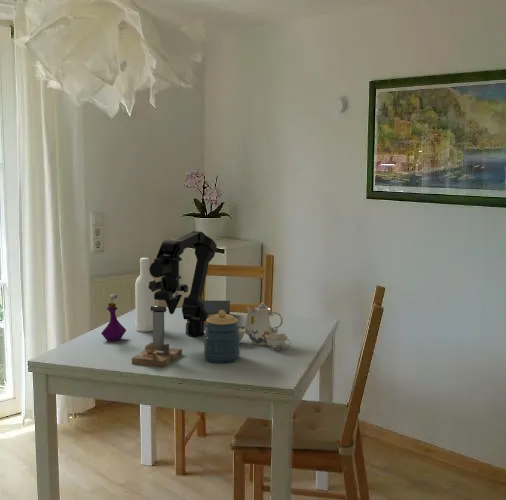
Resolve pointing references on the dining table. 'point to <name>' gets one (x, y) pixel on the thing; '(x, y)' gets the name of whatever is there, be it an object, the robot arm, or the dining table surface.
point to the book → (216, 307)
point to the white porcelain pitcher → (253, 317)
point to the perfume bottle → (113, 324)
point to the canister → (221, 338)
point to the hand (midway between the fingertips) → (171, 314)
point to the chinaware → (263, 329)
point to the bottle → (144, 298)
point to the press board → (159, 358)
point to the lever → (158, 326)
